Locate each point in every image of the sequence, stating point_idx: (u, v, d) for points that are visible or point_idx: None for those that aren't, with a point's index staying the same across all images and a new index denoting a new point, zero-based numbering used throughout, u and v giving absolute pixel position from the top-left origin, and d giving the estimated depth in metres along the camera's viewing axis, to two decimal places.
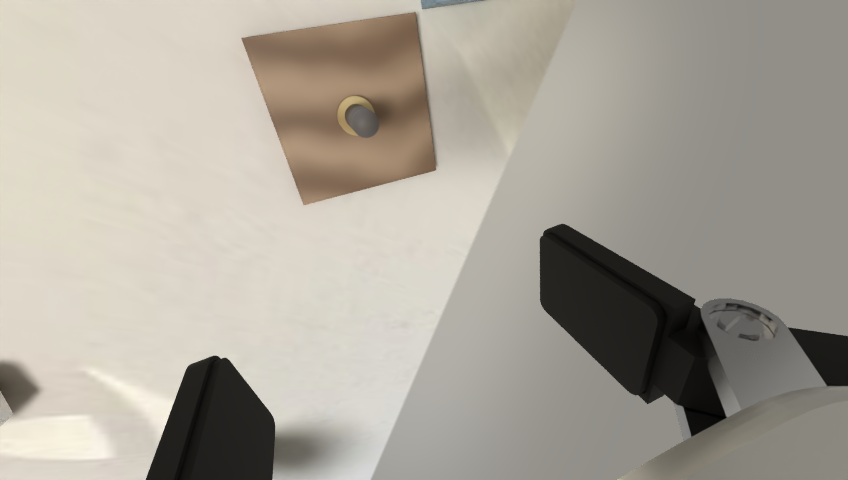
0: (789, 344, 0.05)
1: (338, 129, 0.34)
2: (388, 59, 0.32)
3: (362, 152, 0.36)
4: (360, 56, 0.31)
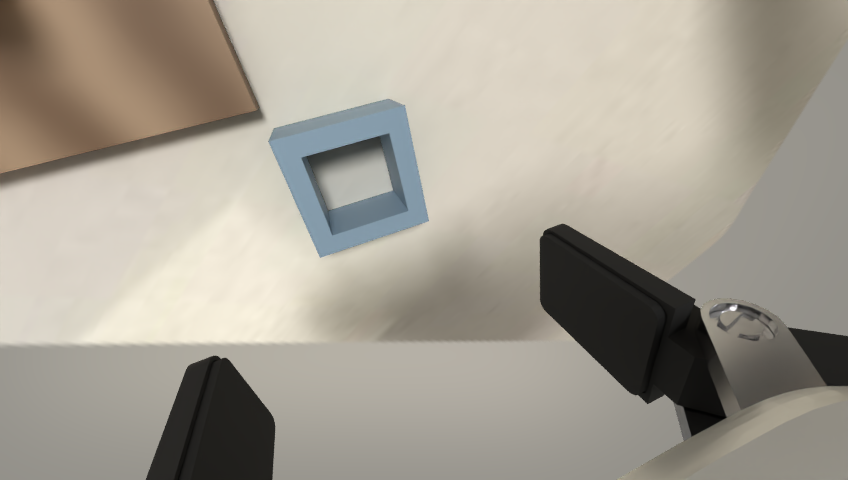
0: (789, 344, 0.05)
1: None
2: (147, 53, 0.15)
3: None
4: None
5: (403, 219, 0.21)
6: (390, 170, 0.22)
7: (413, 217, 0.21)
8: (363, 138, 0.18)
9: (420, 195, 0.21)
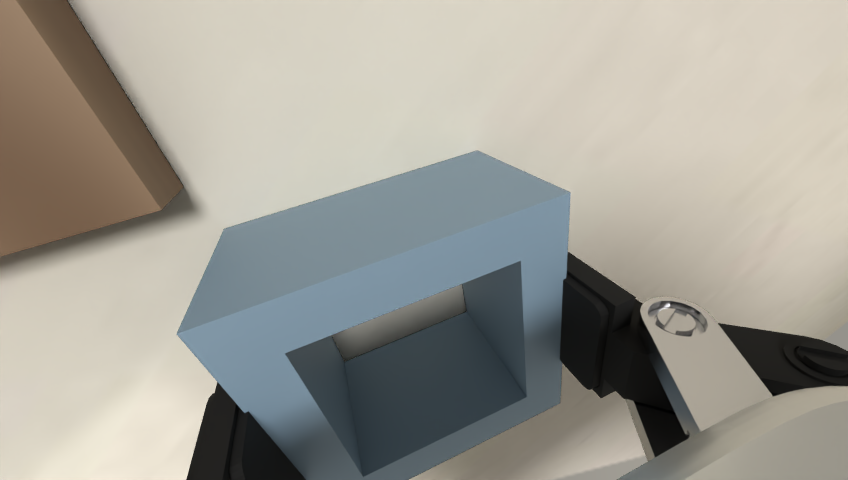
0: (719, 336, 0.06)
1: None
2: None
3: None
4: None
5: (513, 412, 0.10)
6: (472, 289, 0.11)
7: (533, 404, 0.10)
8: (456, 281, 0.07)
9: (556, 366, 0.09)
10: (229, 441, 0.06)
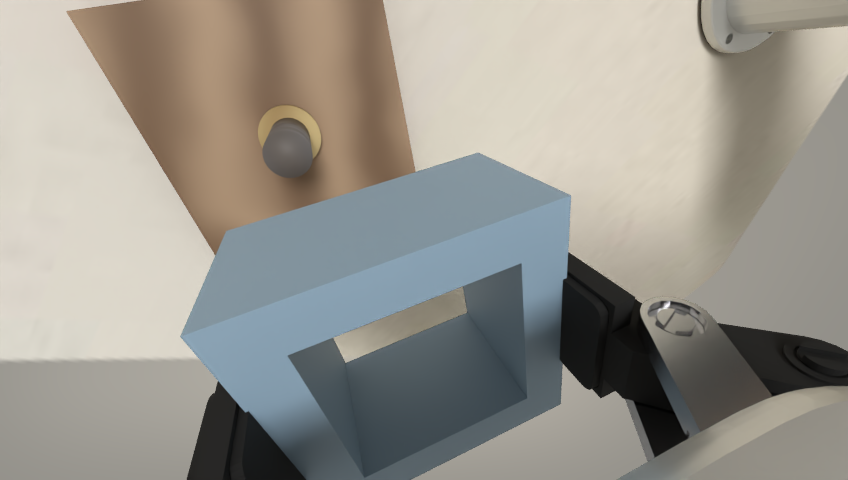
0: (718, 336, 0.06)
1: (263, 106, 0.20)
2: (372, 180, 0.25)
3: (228, 145, 0.21)
4: (371, 143, 0.24)
5: (514, 413, 0.10)
6: (472, 290, 0.11)
7: (534, 406, 0.10)
8: (458, 284, 0.07)
9: (556, 367, 0.09)
10: (229, 441, 0.06)
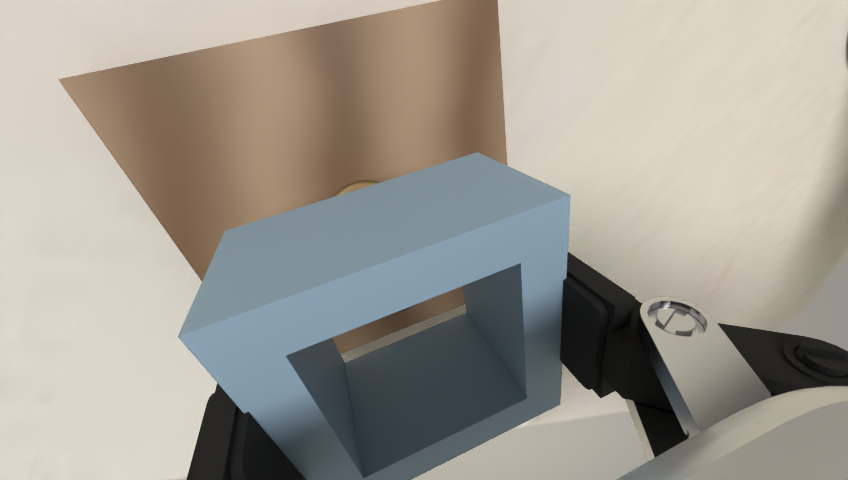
0: (718, 336, 0.06)
1: (333, 185, 0.15)
2: None
3: None
4: None
5: (513, 413, 0.10)
6: (472, 290, 0.11)
7: (533, 406, 0.10)
8: (457, 284, 0.07)
9: (556, 368, 0.09)
10: (230, 440, 0.06)
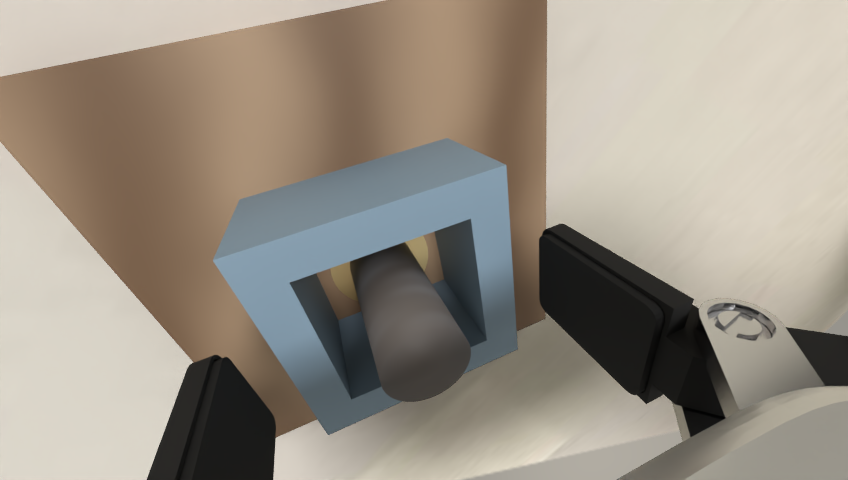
0: (787, 344, 0.05)
1: None
2: None
3: None
4: None
5: (476, 353, 0.12)
6: (445, 256, 0.13)
7: (494, 348, 0.12)
8: (420, 233, 0.09)
9: (510, 314, 0.11)
10: None
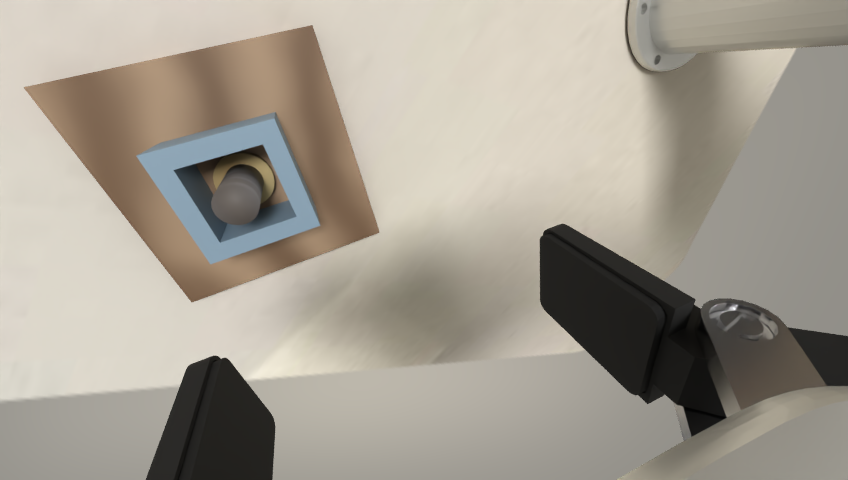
0: (789, 344, 0.05)
1: None
2: (328, 212, 0.27)
3: None
4: (324, 179, 0.26)
5: (292, 224, 0.22)
6: None
7: (303, 222, 0.22)
8: (236, 150, 0.19)
9: (306, 201, 0.22)
10: None
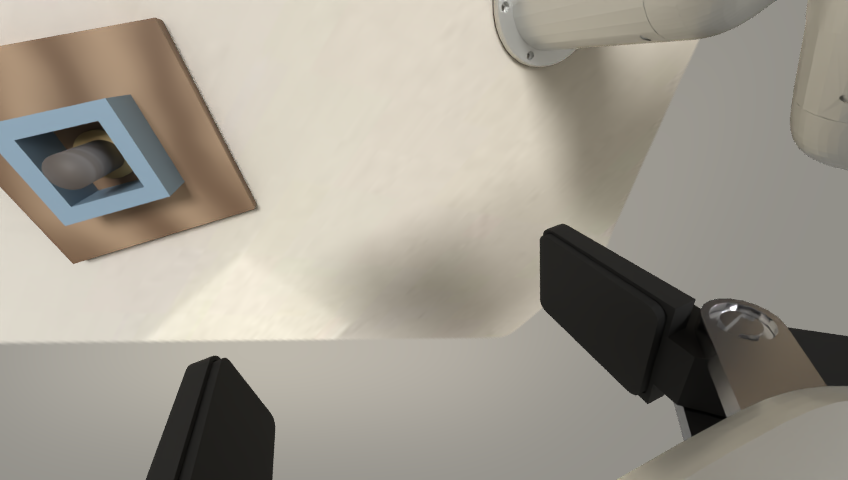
0: (789, 344, 0.05)
1: (78, 131, 0.25)
2: (198, 187, 0.30)
3: None
4: (189, 156, 0.28)
5: (141, 194, 0.25)
6: None
7: (152, 192, 0.25)
8: (72, 125, 0.22)
9: (152, 173, 0.25)
10: None
